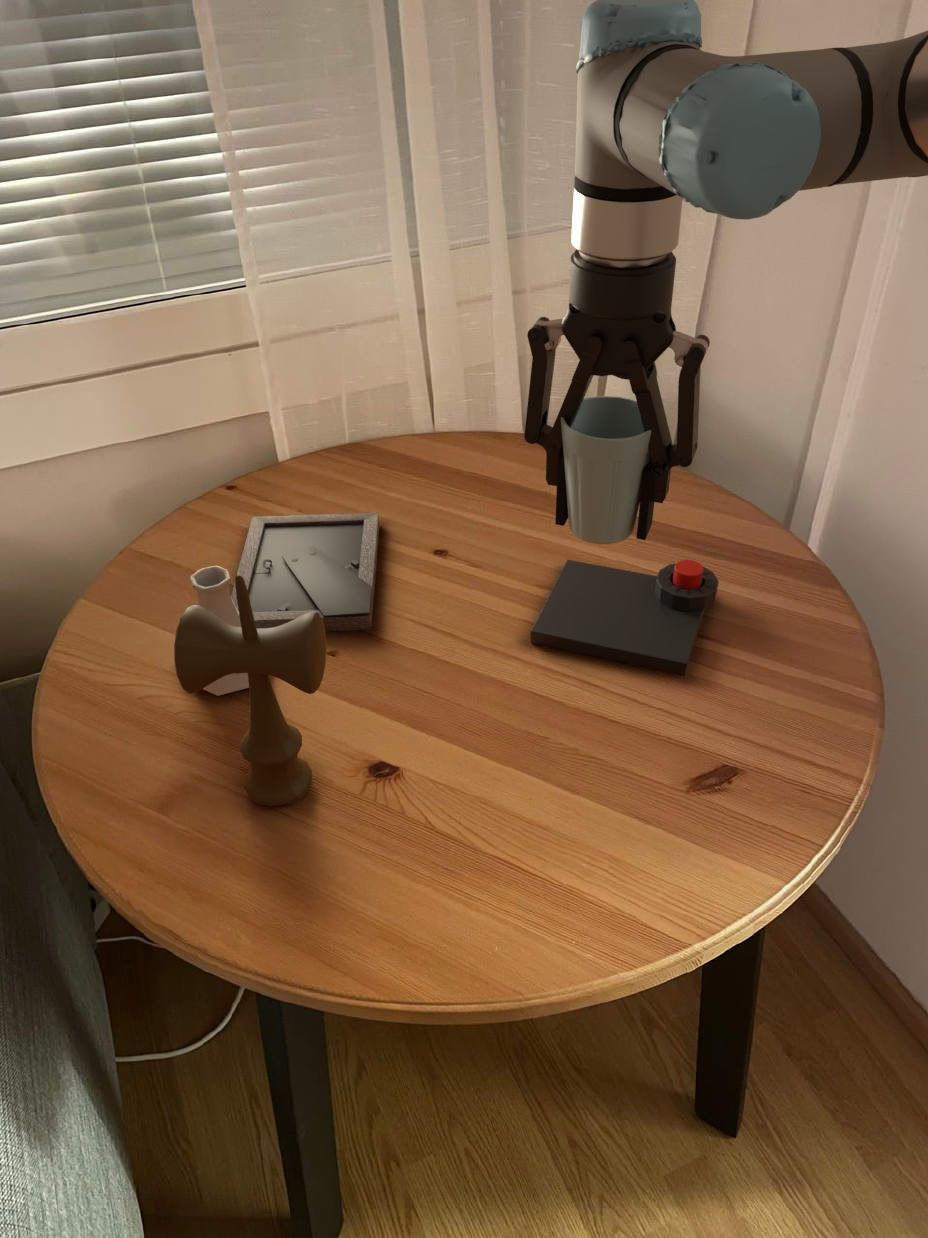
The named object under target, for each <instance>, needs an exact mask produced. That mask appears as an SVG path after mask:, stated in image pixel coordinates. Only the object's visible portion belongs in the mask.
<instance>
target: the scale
mask: <svg viewBox="0 0 928 1238" xmlns="http://www.w3.org/2000/svg"><path fill="white" fill-rule="evenodd" d="M675 564H676V563H671V564H668V565H666V566H664V567H663V568H661V569H659V570H658V573H657V575H652V574H646V573H643V572H637V571H631V570H625V569H620V568H615V567H609V566H605V565H599V564H594V563H588V562H582V561H577V560H571V559H566V561H565V563H564V565H563V567H562V569H561V571H560V572H559V575H558V577H557V579H556V580H555V583H554V585H553V586H552V589H551V591H550V592H549V594H548V596H547V598H546V600H545V603H544V604H543V606H542V608H541V610H540V611H539V614H538V616H537V618H536V620H535V622H534V624H533V626H532V628H531V630H530V644H534V645H540V646H543V647H548V648H554V649H558V650H561V651H562V650H563V651H567V652H573V653H576V654H581V655H585V656H591V657H595V658H601V659H605V660H609V661H615V662H619V663H624V664H629V665H633V666H638V667H642V668H648V669H652V670H657V671H662V672H666V673H671V674H675V675H680V676H686V674H687V671H688V668H689V665H690V661H691V658H692V655H693V651H694V649H695V644H696V641H697V638H698V634H699V632H700V628H701V625H702V621H703V618H704V615H705V611H706V610H707V608H709V607H710V606H712V605H714V604H715V602H716V598H717V593H718V587H719V579H718V578H717V576H716V574H715V573H714V572H713V571H712V570H710V569H708V568H707V567H705V566H703V576H702V583H701V586H700V587H699V588H698V589H694V590H685V589H680V588H678V587H676V586H675V585H674V584H673V575H674V567H675Z"/></svg>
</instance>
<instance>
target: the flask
mask: <svg viewBox="0 0 928 1238" xmlns="http://www.w3.org/2000/svg"><path fill="white" fill-rule="evenodd" d="M190 582H191V584H192V587H193V589H194V591H196V593H197V605H199V606H201V607H203V608H205V609H206V610H208V611H209V612H211V613H212V614H214V615H215V616H217V617H218V618H220V619H221V620H223V621H224V622H226V623H228V624H230V625H232V626H235V627H241V622H240V616H239V611H238V610H237V608H236V607H235V605H234V602H233V600H232V598H231V592H230V587H229V585H230V584H231V583H232V579H231V576H230V573H229V570H228V569H226V568H224V567H221V566H218V565H212V566H208V567H203V568H200V569H199V570H197V571H195V573H193V574H192V575H190ZM245 689H249V682H248V673H240V674H236V673H234V674H229V675H226V676H224V677H222V678H220V679H218V680H216V681H215V682H213V683H211V684H209V685H208V686H206V687H204V688H203V689H202V690H203V691H206V692H208V693H210V694H213V695H215V696H217V697H218V696H222V695H225V694H226V695H227V694H230V693H234V692H238V691H241V690H245Z"/></svg>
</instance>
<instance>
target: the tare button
mask: <svg viewBox="0 0 928 1238" xmlns="http://www.w3.org/2000/svg"><path fill="white" fill-rule="evenodd" d="M674 564H675V567H674V575H673V584H674V585H675V586H676V587H678V588H680V589H685V590H694V589H698V588H699V587H700V586H701V583H702V576H703V567H704V566H703V565H702V564H701V563H700V562H699V561H696V560H693V559H682V560H678V561H677V562H676V563H674Z"/></svg>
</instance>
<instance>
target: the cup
mask: <svg viewBox="0 0 928 1238" xmlns="http://www.w3.org/2000/svg"><path fill="white" fill-rule="evenodd" d="M561 428H562V440H563V453H564V465H565V478H566V493H567V507H568V519H567V521H568V528H569V530H570V532H571V533H572V535H573V536H575V537H576V538H577V539H579V540H581V541H583V542H586V543H589V544H594V545H611V544H612V545H613V544H617V543H620V542H624V541H625V540H627V539H628V538H629V537H631V535H632V534H633V533H634V529H635V525H636V521H637V517H638V513H639V507H640V496H641V486H642V476H643V469H644V467H645V466H646V465H647V464H648V463H649V459H650V451H649V447H648V445H649V440H650V436H651V430H648V431H646V432H645V431H644V427H643V424H642V420H641V416H640V412H639V408H638V404H637V400H636V399H631V398H627V397H624V396H623V397H622V396H614V395H612V396H611V395H602V396H601V395H599V396H590V397H584V399H583V401H582V404H581V406H580V408H579V411H578V413H577V415H576V418H575V420H574V422H573V424H572V426H571V428H570V427H569V426H568V425H567V424H566V422H565V420H564V418H563V417H561Z"/></svg>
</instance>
